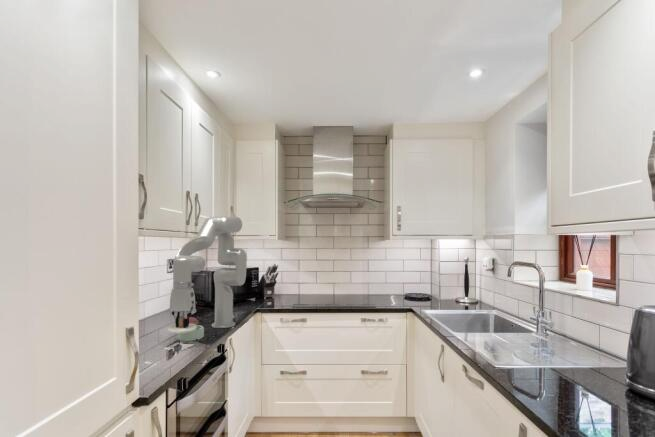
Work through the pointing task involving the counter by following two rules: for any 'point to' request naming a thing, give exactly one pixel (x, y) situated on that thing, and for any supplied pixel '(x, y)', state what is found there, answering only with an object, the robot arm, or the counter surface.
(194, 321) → the cupcake
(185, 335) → the bowl
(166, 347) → the mat
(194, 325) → the lid
